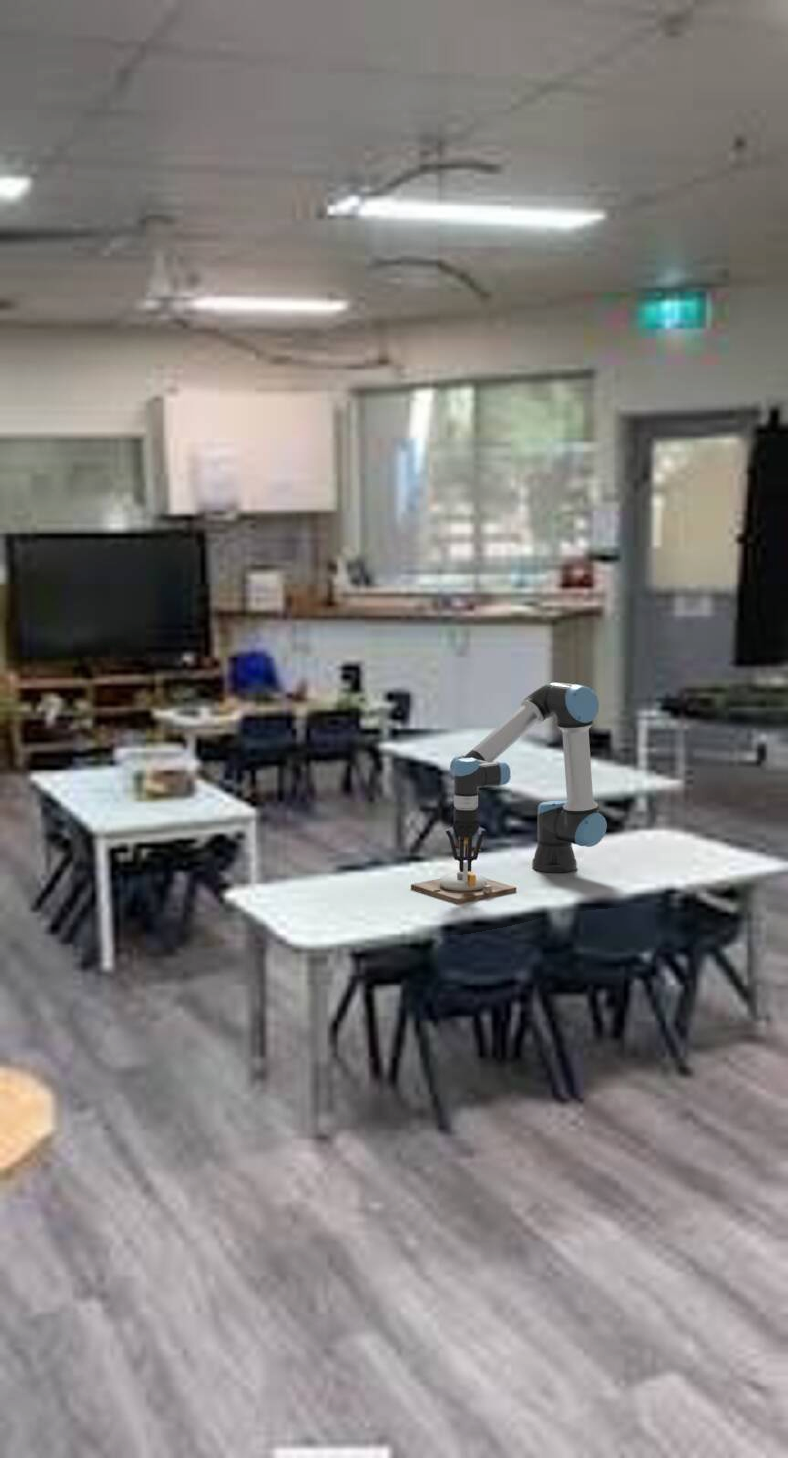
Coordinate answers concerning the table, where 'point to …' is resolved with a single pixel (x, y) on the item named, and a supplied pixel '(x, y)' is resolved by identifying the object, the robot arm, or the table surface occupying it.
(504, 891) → the board
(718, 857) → the table surface
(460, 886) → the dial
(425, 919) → the table surface
